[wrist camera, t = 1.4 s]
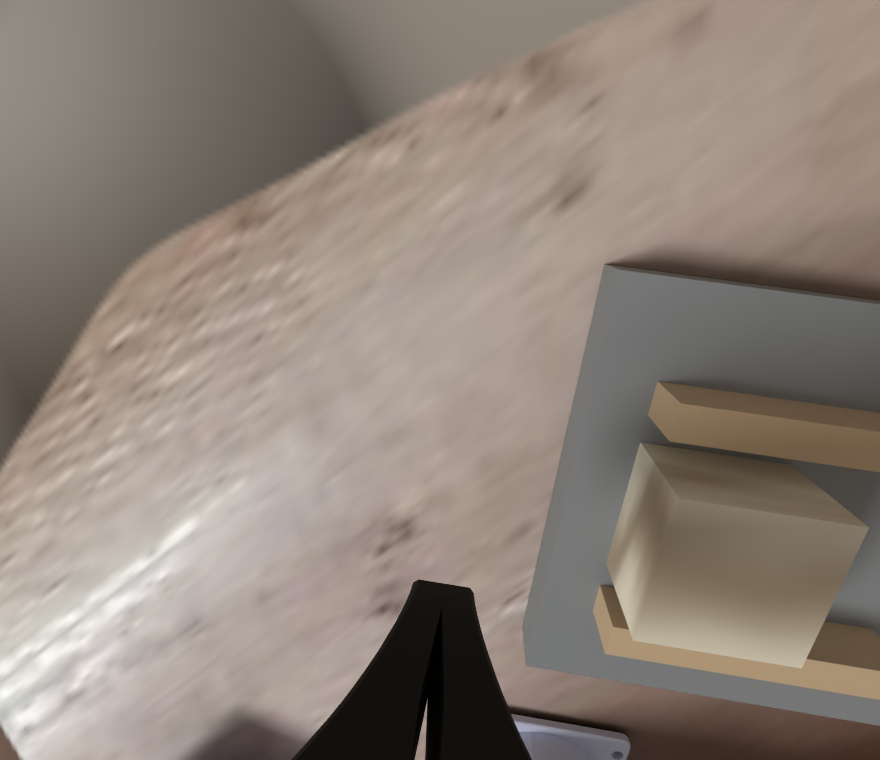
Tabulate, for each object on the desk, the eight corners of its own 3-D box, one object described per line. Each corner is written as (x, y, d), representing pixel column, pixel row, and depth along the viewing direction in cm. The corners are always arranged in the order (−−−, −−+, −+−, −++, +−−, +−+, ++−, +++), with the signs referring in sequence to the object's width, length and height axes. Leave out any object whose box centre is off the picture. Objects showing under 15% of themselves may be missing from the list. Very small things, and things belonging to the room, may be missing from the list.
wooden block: (743, 585, 18) (801, 668, 15) (606, 563, 18) (633, 640, 15) (791, 464, 16) (869, 527, 13) (640, 442, 16) (679, 498, 13)
